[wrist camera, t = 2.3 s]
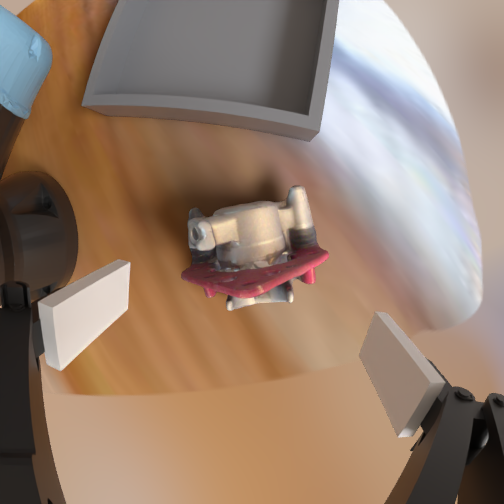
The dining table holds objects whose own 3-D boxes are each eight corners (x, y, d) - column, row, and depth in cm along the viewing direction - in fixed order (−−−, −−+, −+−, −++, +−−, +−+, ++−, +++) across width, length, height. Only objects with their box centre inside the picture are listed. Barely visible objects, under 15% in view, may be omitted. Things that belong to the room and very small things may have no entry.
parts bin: (107, 116, 25) (81, 105, 20) (160, -29, 20) (147, -52, 15) (309, 141, 25) (319, 131, 20) (334, -16, 20) (343, -42, 15)
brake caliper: (206, 337, 26) (147, 303, 16) (201, 233, 31) (157, 158, 20) (329, 319, 26) (354, 273, 15) (307, 216, 30) (310, 129, 20)
